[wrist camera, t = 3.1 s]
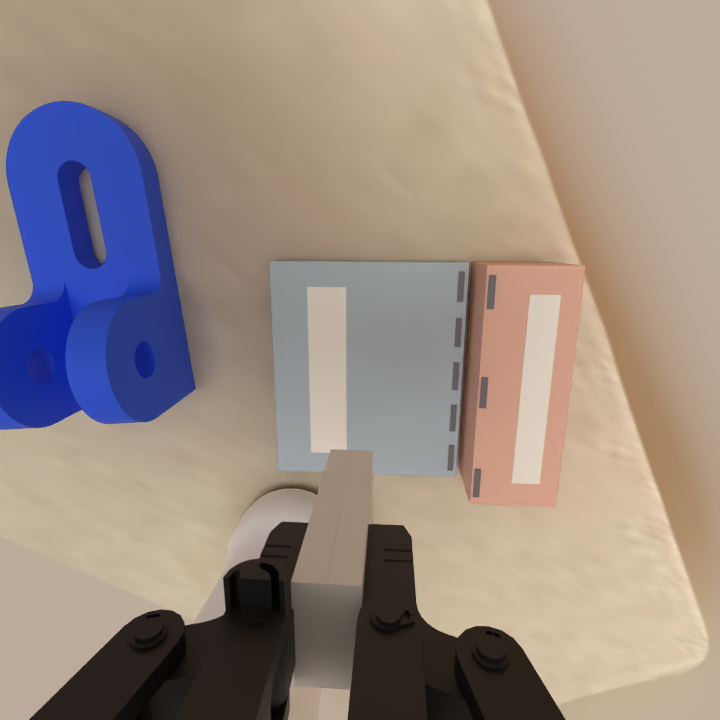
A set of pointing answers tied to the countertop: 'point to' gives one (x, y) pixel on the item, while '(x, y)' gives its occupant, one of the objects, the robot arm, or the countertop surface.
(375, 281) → the ticket
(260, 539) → the bottle
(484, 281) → the stub
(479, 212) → the countertop surface
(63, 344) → the bracket
